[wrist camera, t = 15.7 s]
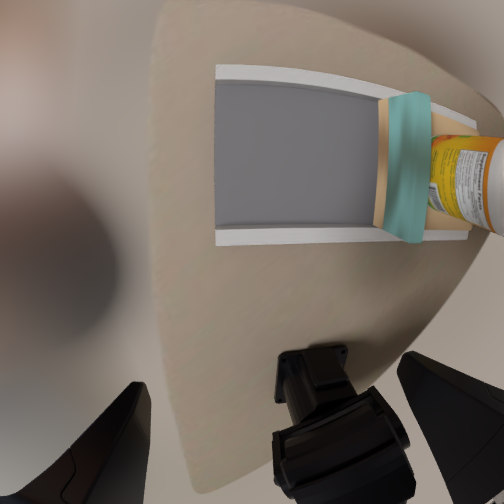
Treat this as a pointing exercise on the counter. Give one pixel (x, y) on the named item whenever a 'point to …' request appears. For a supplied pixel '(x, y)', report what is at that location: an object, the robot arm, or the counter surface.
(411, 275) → the counter surface
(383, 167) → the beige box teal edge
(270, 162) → the track
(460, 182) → the supplement bottle
